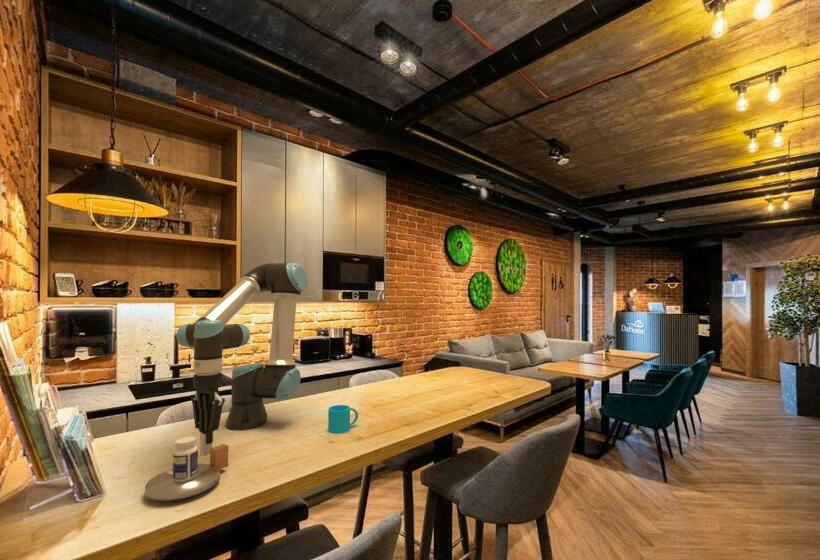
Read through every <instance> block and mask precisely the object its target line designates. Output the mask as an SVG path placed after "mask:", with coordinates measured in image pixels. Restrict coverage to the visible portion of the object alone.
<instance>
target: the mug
mask: <svg viewBox="0 0 820 560" xmlns="http://www.w3.org/2000/svg"><path fill="white" fill-rule="evenodd" d="M351 411H353V412H354V414H355V417H354V420H352V422H351ZM327 413H328V414H327V416H328V418H327V419H328V420H327V426H328V427H327V429H328V430H327V431H328V433H330V434H345V433H348V432H349V431H350V430H351V427H352V426H353V425H354V424H355V423H356V422H357V420H358V418H359V413H358V411H357V410H356V409H355V408H353V407H351V406H350V405H345V404H337V405H331V406H330V407H328V412H327Z"/></svg>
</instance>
